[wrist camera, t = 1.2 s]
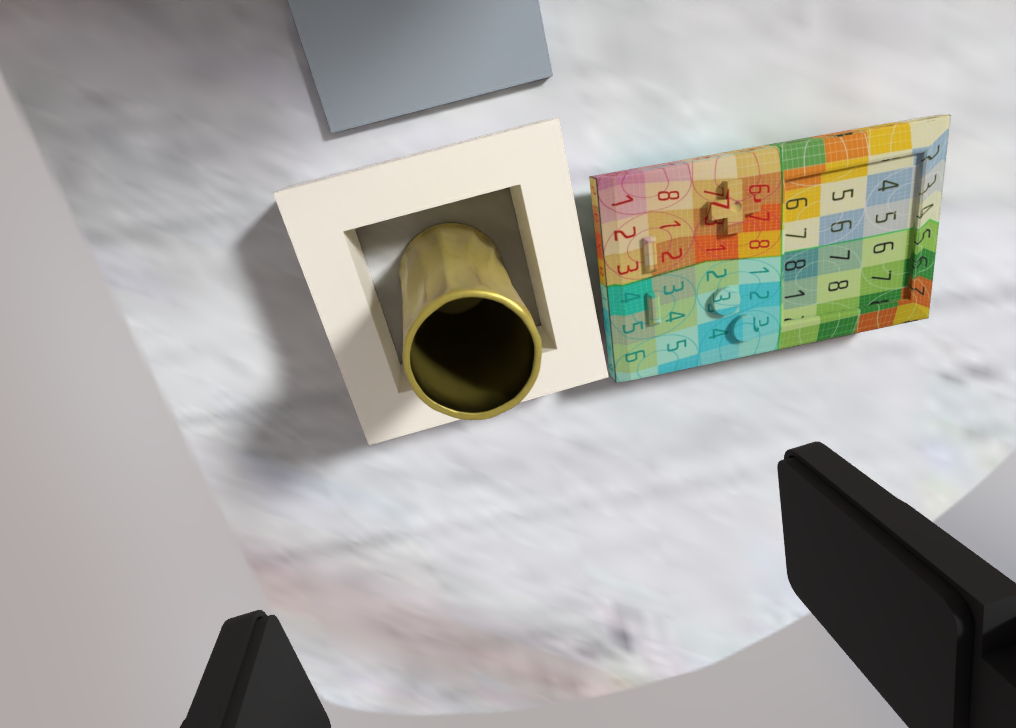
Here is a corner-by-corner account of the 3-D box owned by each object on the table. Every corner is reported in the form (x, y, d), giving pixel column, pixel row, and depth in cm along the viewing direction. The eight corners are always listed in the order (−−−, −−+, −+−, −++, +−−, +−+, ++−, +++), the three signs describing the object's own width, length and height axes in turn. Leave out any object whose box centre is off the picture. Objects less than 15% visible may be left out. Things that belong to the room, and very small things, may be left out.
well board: (291, 185, 33) (273, 193, 28) (540, 120, 33) (558, 118, 29) (373, 411, 38) (368, 445, 34) (587, 350, 38) (608, 377, 34)
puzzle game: (600, 179, 30) (965, 114, 32) (577, 173, 35) (899, 116, 36) (620, 388, 35) (940, 322, 36) (597, 360, 39) (884, 302, 41)
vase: (496, 328, 37) (542, 435, 24) (395, 320, 36) (384, 428, 23) (509, 228, 35) (566, 284, 22) (402, 216, 34) (394, 268, 21)
